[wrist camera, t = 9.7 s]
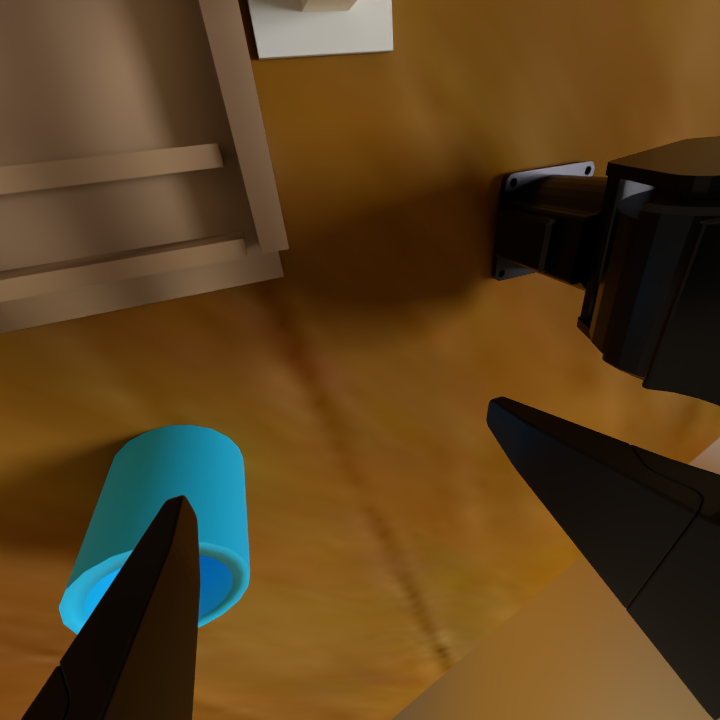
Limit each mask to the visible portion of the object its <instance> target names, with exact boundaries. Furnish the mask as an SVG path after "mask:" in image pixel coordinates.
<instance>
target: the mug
mask: <svg viewBox="0 0 720 720" xmlns="http://www.w3.org/2000/svg"><path fill="white" fill-rule="evenodd" d="M180 495H184V496H186V497H187V499H188V501H189V503H190V504H191V506H192V508H193V510H194V512H195V513H196V516H197V521H198V539H199V558H200V602H199V618H198V627H201V626H203V625H205V624H207V623H208V622H210V621H212V620H214V619H215V618H217V617H219V616H220V615H222V614H224V613H225V612H226V611H227V610H228V609H230V608H231V607H232V606H233V605H234V604H235V603H236V602H238V601H239V600H240V598H241V596H242V595H243V593H244V592H245V590H246V589H247V587H248V584H249V577H250V561H249V544H248V527H247V510H246V492H245V475H244V460H243V457H242V455H241V452H240V450H239V448H238V447H237V446H236V445H235V444H234V442H233V441H232V440H231V439H230V438H229V437H227V436H225V435H223V434H221V433H219V432H217V431H215V430H213V429H209V428H204V427H199V426H194V425H176V426H166V427H162V428H158V429H154V430H151V431H147V432H145V433H143V434H141V435H139V436H138V437H136V438H134V439H132V440H130V441H128V442H127V443H126V444H125V445H124V446H123V447H122V448H121V449H120V450H119V452H118V453H117V454H116V455H115V457H114V459H113V462H112V464H111V467H110V470H109V472H108V475H107V478H106V480H105V483H104V486H103V489H102V491H101V494H100V497H99V500H98V502H97V505H96V508H95V510H94V513H93V516H92V519H91V521H90V524H89V527H88V530H87V532H86V535H85V538H84V540H83V543H82V546H81V549H80V551H79V554H78V557H77V560H76V562H75V565H74V568H73V570H72V573H71V576H70V579H69V581H68V584H67V587H66V589H65V592H64V595H63V598H62V600H61V603H60V606H59V611H60V614H61V617H62V621H63V624H65V625H66V626H67V627H68V628H70V629H71V630H72V631H73V632H75V633H76V634H77V635H78V633H79V632H80V630H81V629H82V627H83V626H84V624H85V623H86V621H87V619H88V618H89V616H90V615H91V613H92V612H93V610H94V609H95V607H96V606H97V604H98V603H99V601H100V600H101V598H102V597H103V595H104V594H105V592H106V591H107V589H108V588H109V586H110V585H111V583H112V581H113V580H114V578H115V577H116V575H117V574H118V572H119V571H120V569H121V568H122V566H123V565H124V563H125V562H126V560H127V559H128V557H129V556H130V554H131V553H132V551H133V550H134V548H135V546H136V545H137V543H138V542H139V540H140V539H141V537H142V536H143V534H144V533H145V531H146V530H147V528H148V527H149V525H150V524H151V522H152V521H153V519H154V518H155V516H156V515H157V513H158V512H159V510H160V508H161V507H162V505H163V504H164V503H165V501H166V500H168V499H170V498H173V497H177V496H180Z"/></svg>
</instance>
